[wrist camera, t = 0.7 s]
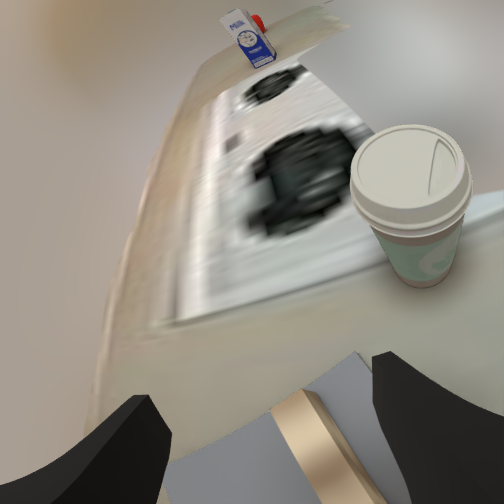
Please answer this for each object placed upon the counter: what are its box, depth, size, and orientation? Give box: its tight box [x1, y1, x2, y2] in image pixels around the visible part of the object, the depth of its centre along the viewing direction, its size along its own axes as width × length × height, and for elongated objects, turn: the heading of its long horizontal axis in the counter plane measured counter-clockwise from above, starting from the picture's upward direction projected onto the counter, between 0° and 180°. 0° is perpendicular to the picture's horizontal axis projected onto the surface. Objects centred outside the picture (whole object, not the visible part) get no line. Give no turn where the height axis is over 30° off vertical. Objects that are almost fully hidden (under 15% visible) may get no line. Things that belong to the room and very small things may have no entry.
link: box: [269, 389, 387, 504], centre depth 15 cm, size 16×4×3 cm, turn 27°
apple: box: [251, 15, 265, 33], centre depth 102 cm, size 9×9×11 cm
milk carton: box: [219, 8, 277, 69], centre depth 68 cm, size 7×7×20 cm
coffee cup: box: [350, 124, 473, 288], centre depth 19 cm, size 8×8×12 cm
